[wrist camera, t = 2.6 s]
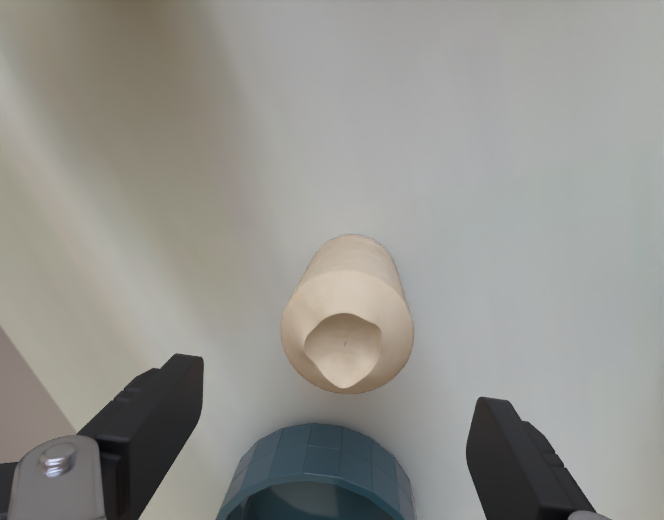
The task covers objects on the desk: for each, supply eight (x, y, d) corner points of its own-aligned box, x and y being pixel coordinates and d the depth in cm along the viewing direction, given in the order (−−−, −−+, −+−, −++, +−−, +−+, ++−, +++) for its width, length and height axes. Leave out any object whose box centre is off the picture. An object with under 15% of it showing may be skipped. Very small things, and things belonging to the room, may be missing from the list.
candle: (389, 323, 25) (405, 426, 15) (304, 310, 25) (266, 404, 15) (403, 239, 23) (431, 293, 14) (314, 227, 23) (278, 272, 14)
